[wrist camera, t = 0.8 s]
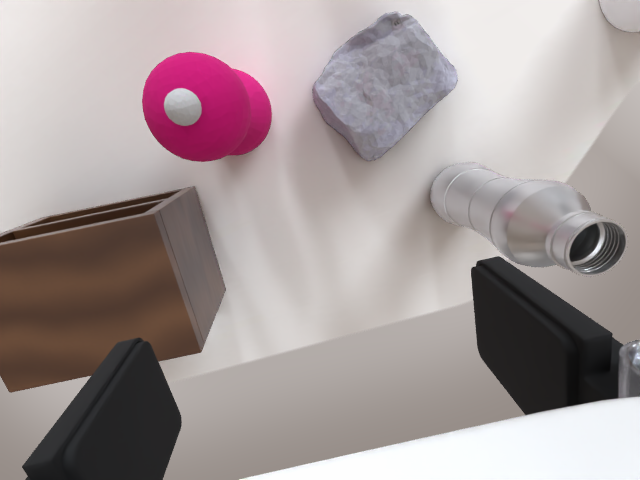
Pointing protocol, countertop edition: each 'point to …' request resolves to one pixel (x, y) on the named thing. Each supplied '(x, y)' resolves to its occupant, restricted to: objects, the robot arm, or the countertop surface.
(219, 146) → the pepper mill
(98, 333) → the shelf
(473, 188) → the silver metal bottle
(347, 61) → the stone block
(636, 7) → the base with upright slab
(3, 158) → the countertop surface
